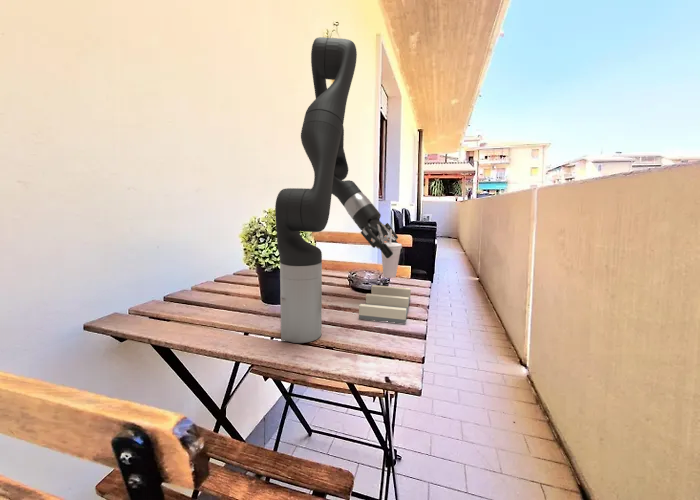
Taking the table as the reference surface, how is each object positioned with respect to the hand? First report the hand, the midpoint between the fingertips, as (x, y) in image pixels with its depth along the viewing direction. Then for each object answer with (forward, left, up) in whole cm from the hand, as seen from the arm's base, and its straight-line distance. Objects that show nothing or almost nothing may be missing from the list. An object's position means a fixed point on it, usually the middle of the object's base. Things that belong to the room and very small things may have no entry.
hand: (395, 254), depth 97 cm
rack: (-3, -3, -15) cm, 16 cm away
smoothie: (-1, +1, -7) cm, 7 cm away
